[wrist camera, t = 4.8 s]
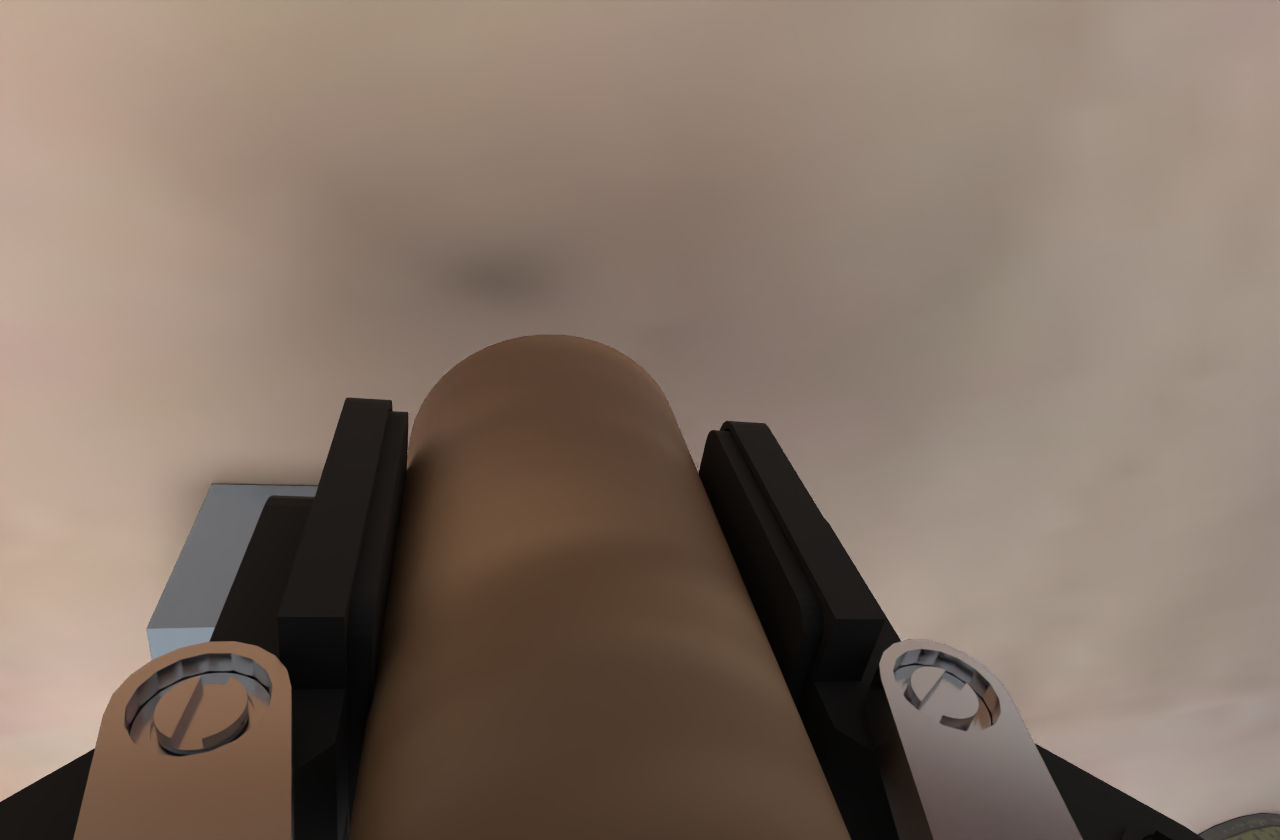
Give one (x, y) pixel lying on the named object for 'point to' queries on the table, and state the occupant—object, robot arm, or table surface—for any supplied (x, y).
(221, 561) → the open box
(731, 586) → the walnut peg
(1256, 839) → the thermos
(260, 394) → the table surface
